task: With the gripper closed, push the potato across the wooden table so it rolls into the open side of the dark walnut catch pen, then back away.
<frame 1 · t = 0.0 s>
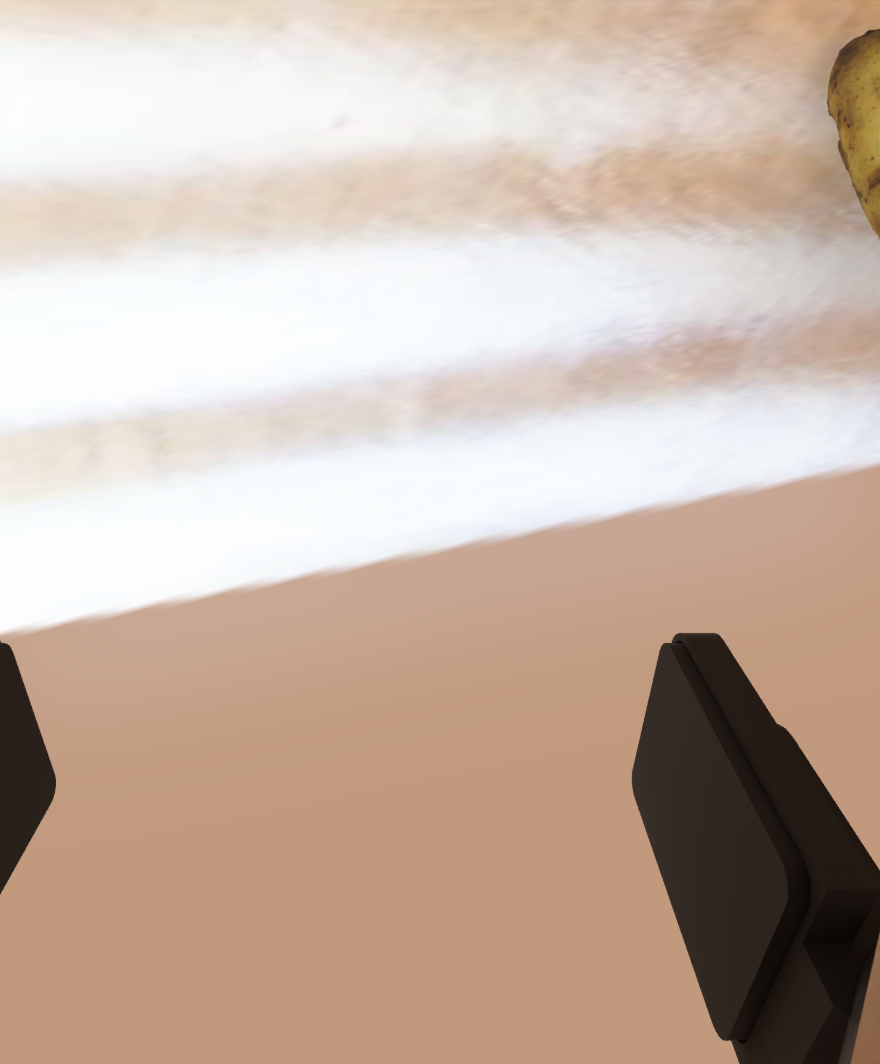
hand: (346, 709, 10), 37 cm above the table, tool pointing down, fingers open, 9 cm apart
potato: (879, 155, 40), on the table
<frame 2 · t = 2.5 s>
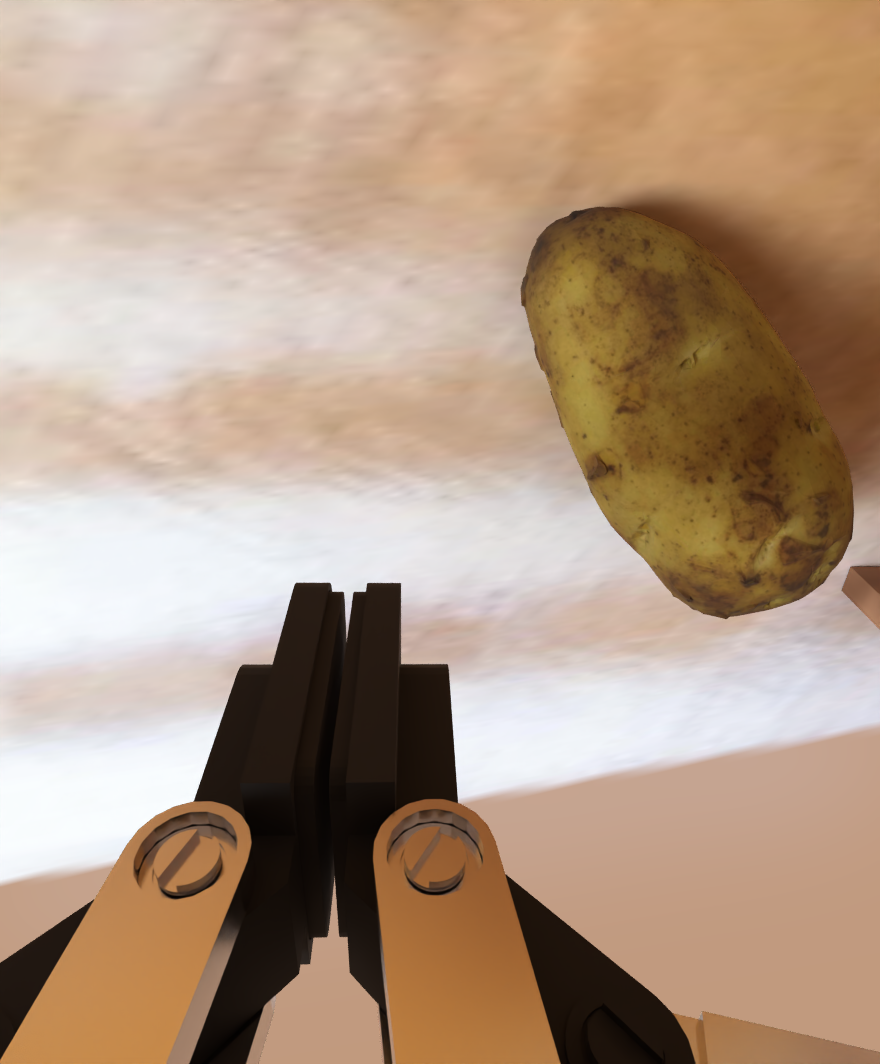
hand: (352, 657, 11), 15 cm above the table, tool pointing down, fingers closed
potato: (648, 375, 25), on the table
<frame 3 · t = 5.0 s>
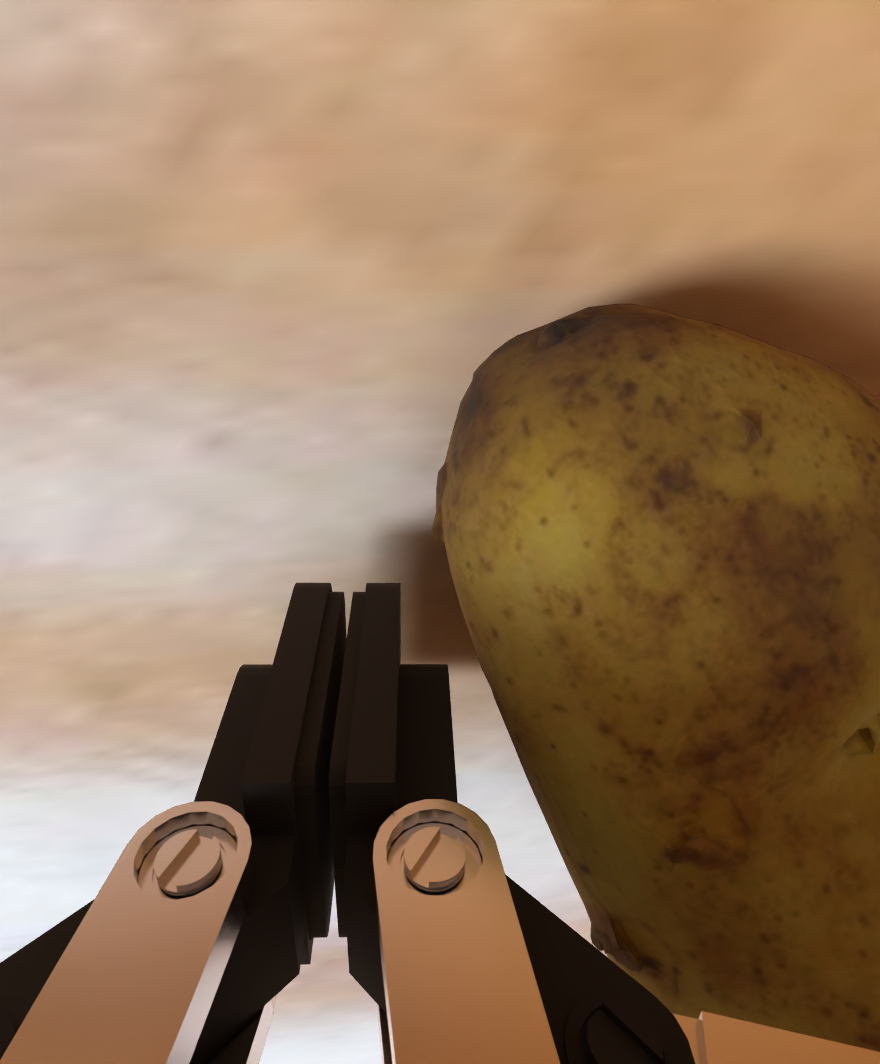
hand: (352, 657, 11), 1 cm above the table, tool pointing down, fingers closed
potato: (710, 594, 13), on the table, touching gripper
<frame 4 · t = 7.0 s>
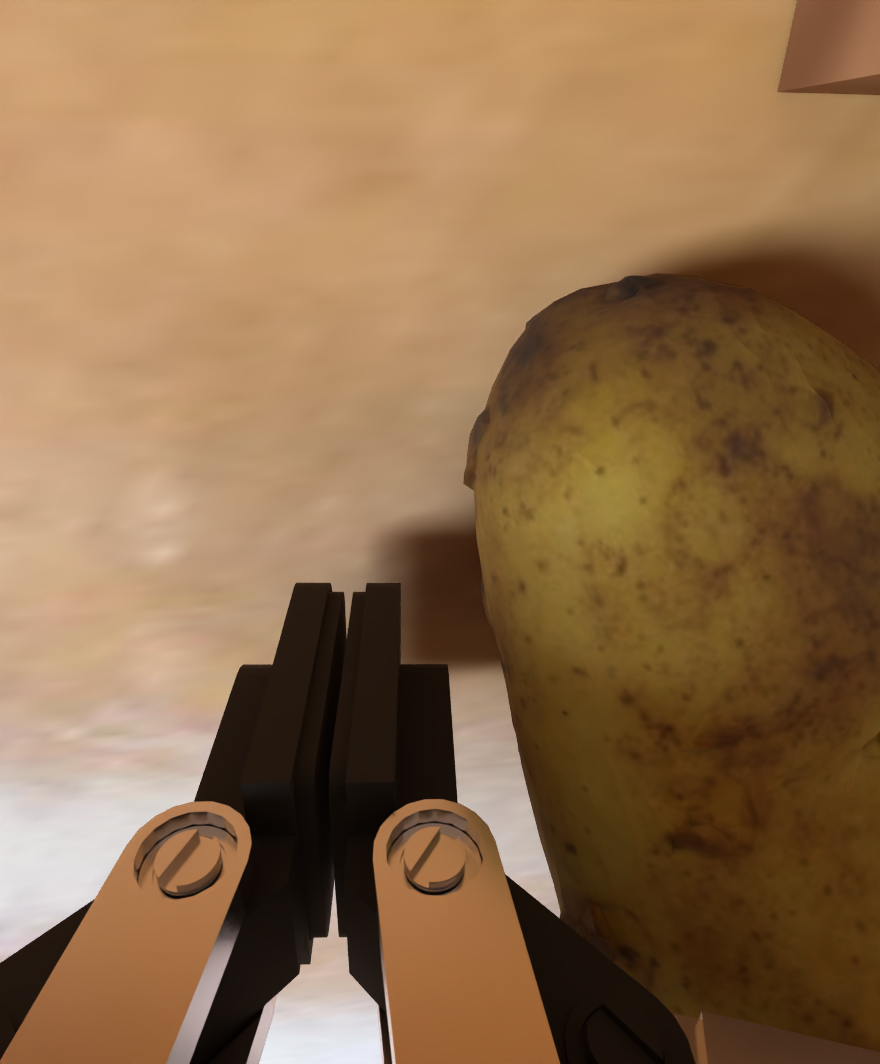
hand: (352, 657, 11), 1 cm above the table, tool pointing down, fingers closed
potato: (701, 602, 13), on the table, touching gripper
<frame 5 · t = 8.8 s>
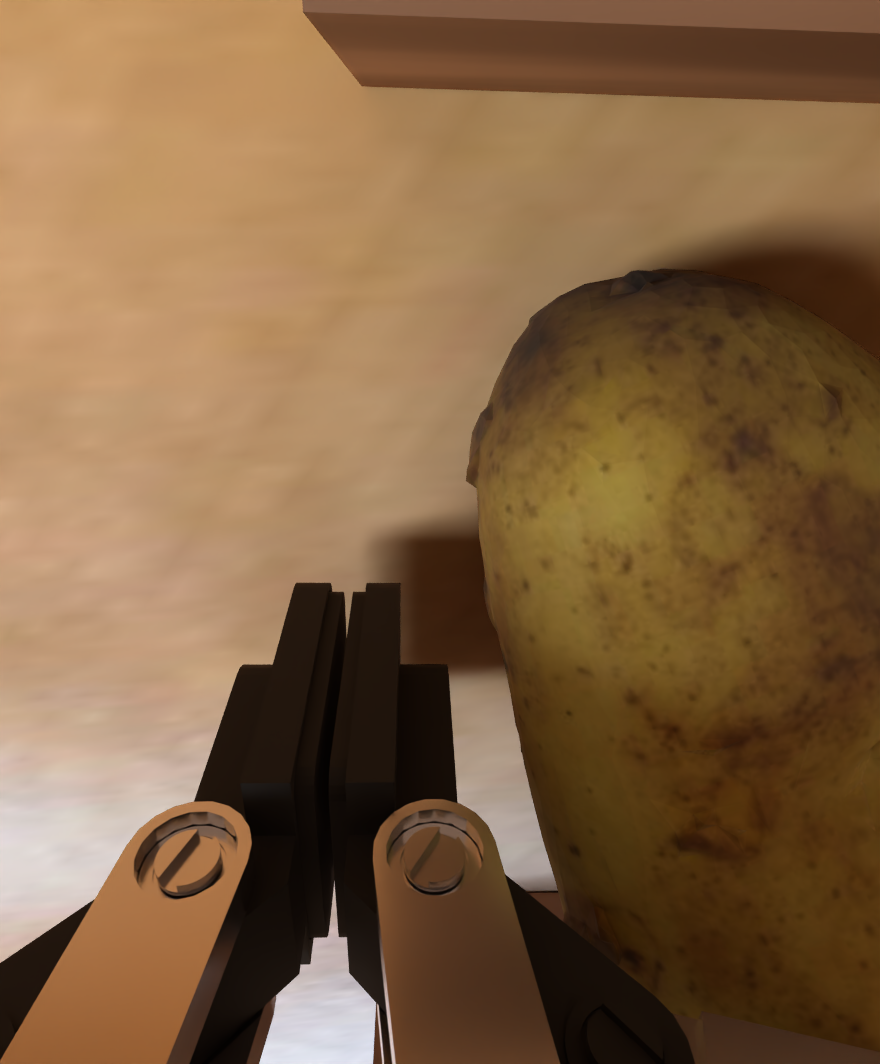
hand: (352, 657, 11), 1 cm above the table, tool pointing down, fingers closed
potato: (704, 602, 13), on the table, touching gripper
catch pen: (704, 617, 13), on the table
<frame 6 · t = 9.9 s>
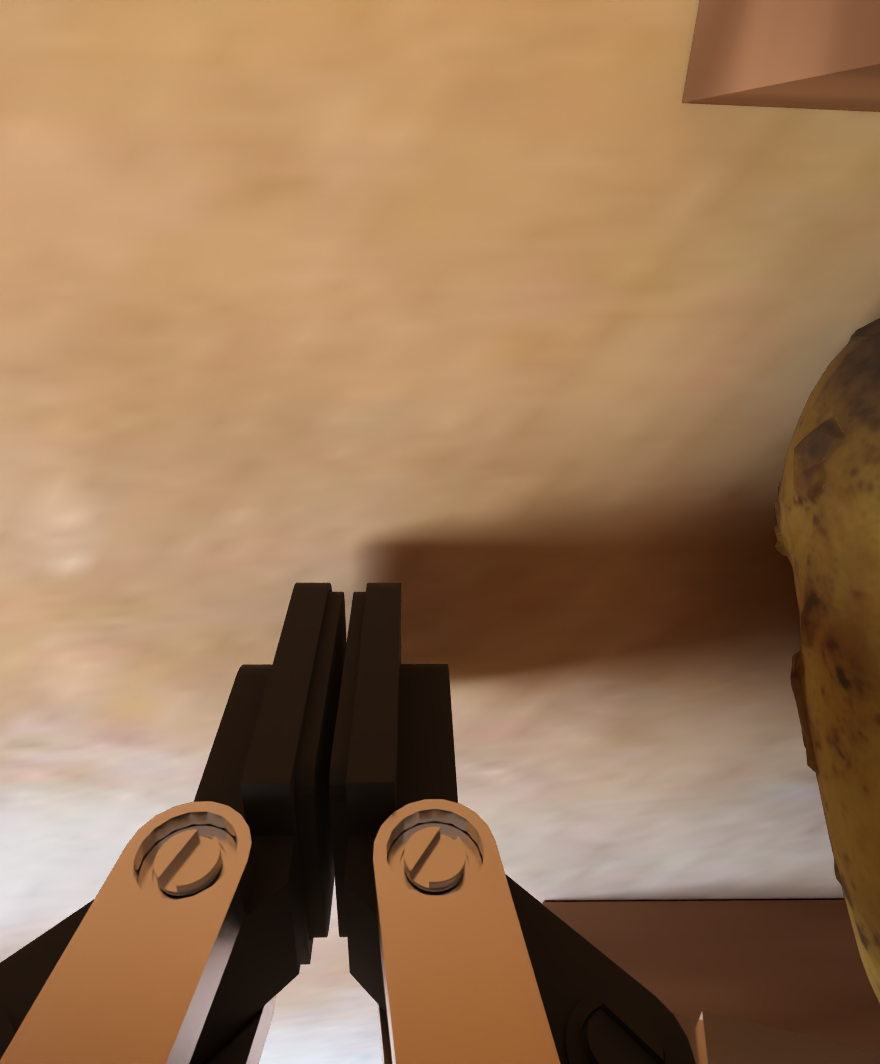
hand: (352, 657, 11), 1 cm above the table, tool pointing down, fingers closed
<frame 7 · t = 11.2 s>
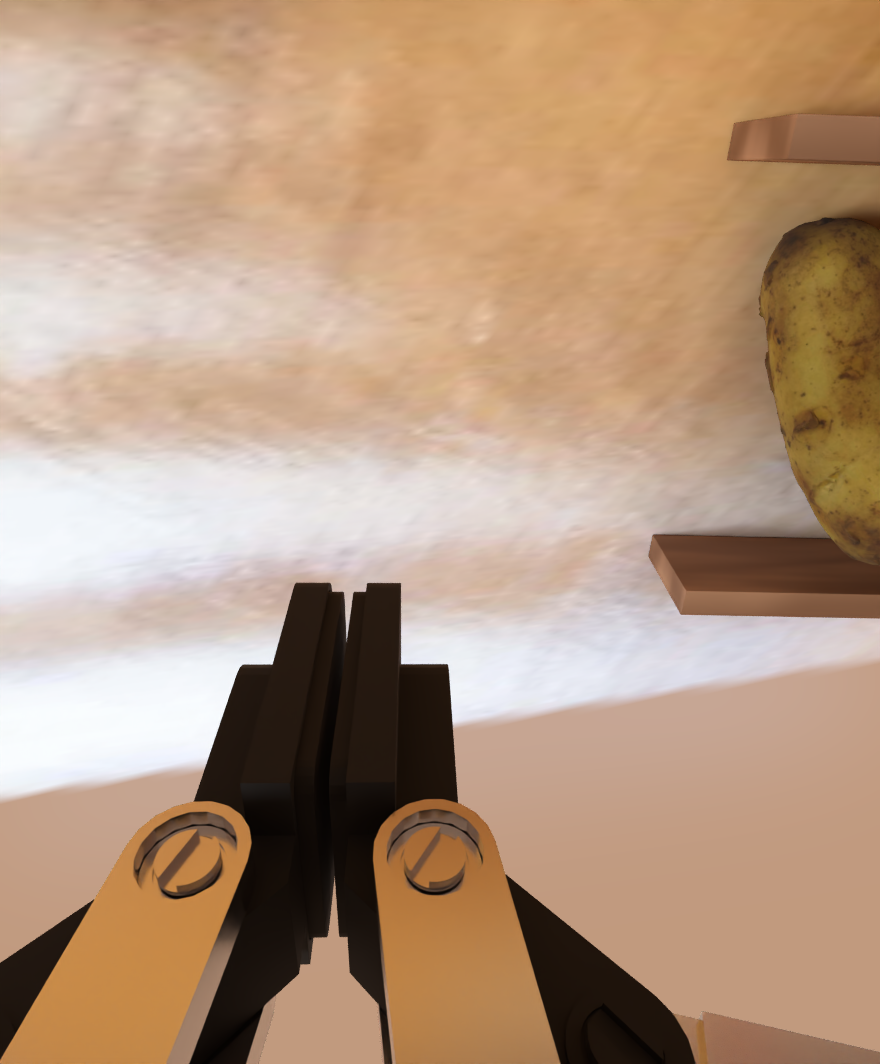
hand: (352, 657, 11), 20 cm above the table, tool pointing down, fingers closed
potato: (822, 369, 30), on the table
catch pen: (822, 375, 30), on the table
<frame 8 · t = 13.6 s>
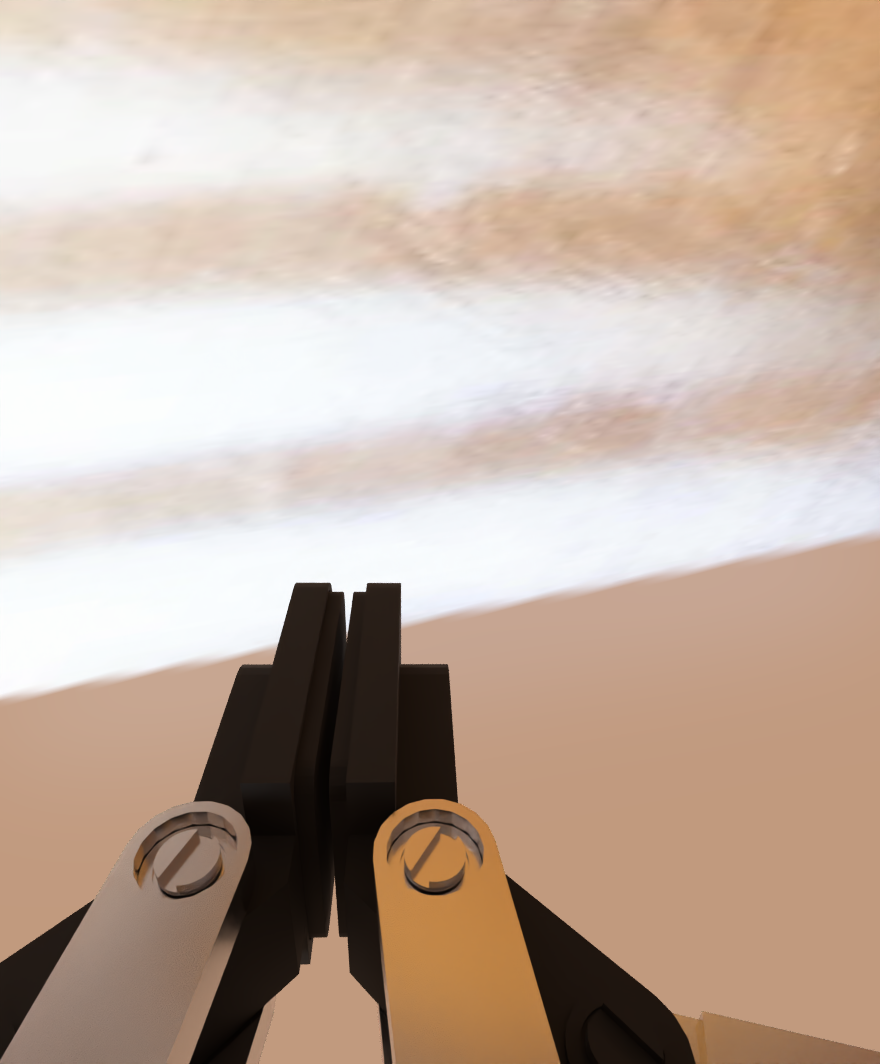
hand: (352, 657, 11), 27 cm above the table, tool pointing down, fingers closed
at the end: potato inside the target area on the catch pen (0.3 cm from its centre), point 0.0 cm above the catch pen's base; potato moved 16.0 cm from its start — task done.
